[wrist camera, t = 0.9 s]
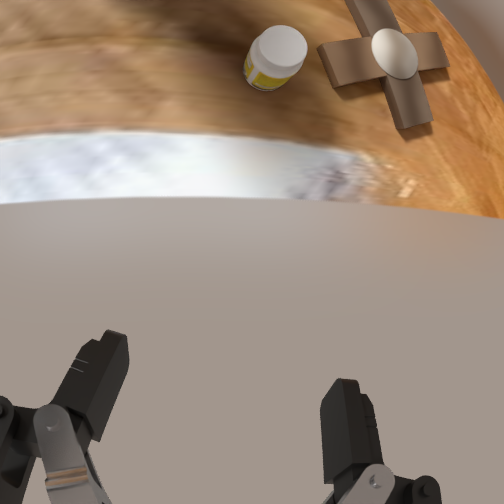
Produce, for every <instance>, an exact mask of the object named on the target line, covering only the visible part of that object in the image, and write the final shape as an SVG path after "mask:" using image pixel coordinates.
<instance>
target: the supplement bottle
mask: <svg viewBox="0 0 504 504" xmlns="http://www.w3.org/2000/svg"><path fill="white" fill-rule="evenodd" d="M306 54H307V43H306V40H305V38H304V37H303V35H302V34H301V33H300V32H298V31H297V30H296V29H294V28H292V27H289V26H284V25H277V26H272V27H270V28H268V29H267V30H265V31H264V32H263V33H262V34H261V35H260V36H258V37H257V38H256V39H255V40H254V41H253V43H252V45H251V47H250V50H249V52H248V55H247V57H246V59H245V62H244V65H243V74H244V77H245V79H246V80H247V82H248V83H249V84H250V85H251V86H253V87H254V88H256V89H258V90H262V91H272V90H275V89H278V88H279V87H281V86H282V85H283V84H284V83H286V82H287V81H288V80H289V79H290V78H291V77H292V76H293V75H294V74H296V73H297V72H298V71H299V69H300V68H301V66H302V64H303V60H304V58H305V57H306Z"/></svg>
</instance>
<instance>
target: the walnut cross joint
mask: <svg viewBox="0 0 504 504" xmlns="http://www.w3.org/2000/svg"><path fill="white" fill-rule="evenodd" d="M345 2H346V4H347V6H348V8H349V10H350V12H351V14H352V16H353V18H354V20H355V22H356V24H357V27H358V29H359V31H360V33H361V35H362V38H355V39H348V40H342V41H336V42H330V43H324V44H321V45H320V46H319V47H318V48H317V51H318V53H319V56H320V58H321V60H322V63H323V65H324V67H325V70H326V72H327V75H328V77H329V80H330V82H331V85H332V87H333V88H337V87H341V86H345V85H349V84H354V83H358V82H363V81H367V80H372V79H377V78H379V79H380V82H381V85H382V87H383V90H384V93H385V96H386V99H387V102H388V105H389V108H390V111H391V114H392V117H393V120H394V123H395V127H396V129H405V128H408V127H412V126H415V125H419V124H423V123H426V122H430V121H434V120H433V117H432V113H431V110H430V106H429V103H428V100H427V97H426V94H425V91H424V87H423V85H422V82H421V79H420V76H419V73H418V71H425V70H433V69H441V68H446V67H450V64H449V61H448V59H447V56H446V53H445V51H444V48H443V46H442V43H441V41H440V38H439V36H438V34H437V32H428V33H405V34H403V33H402V31H401V29H400V26H399V24H398V22H397V20H396V18H395V16H394V14H393V12H392V10H391V8H390V6H389V4H388V2H387V0H345Z"/></svg>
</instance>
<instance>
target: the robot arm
mask: <svg viewBox="0 0 504 504" xmlns="http://www.w3.org/2000/svg"><path fill="white" fill-rule="evenodd" d="M128 367H129V352H128V343H127V336H126V335H125V334H121V333H118V332H115V331H111V330H106V331H105V333H104V334H103V336H102V338H101V340H100V341H97V340H94V339H91V340H90V341H89V342H87V343H86V344H85V345H84V346H82V347H81V349H80V351H79V353H78V354H77V356H76V359H75V360H74V362H73V363H72V365H71V368H69V371H68V372H67V374H66V376H65V378H64V379H63V381H62V383H61V385H60V387H59V389H58V391H57V393H56V395H55V396H54V398H53V400H52V401H51V402H50V403H49V404H47V405H44V406H42V407H40V408H37V409H32V408H25V407H18V406H13V405H12V403H11V402H10V401H9V400H8V399H7V398H5V397H3V396H0V504H22V501H23V497H24V494H25V491H26V487H27V484H28V481H29V478H30V475H31V472H32V469H33V466H34V462H35V460H36V457H39V458H42V461H43V464H44V468H45V471H46V476H47V478H46V480H45V485H46V489H47V493H48V496H49V498H50V501H51V504H112V503H111V501H110V499H109V497H108V496H107V494H106V492H105V490H104V488H103V486H102V483H101V481H100V479H99V476H98V474H97V471H96V469H95V466H94V464H93V461H92V458H91V456H90V453H89V450H88V447H89V444H90V441H91V439H92V440H95V441H98V442H100V440H101V437H102V434H103V432H104V429H105V427H106V424H107V421H108V419H109V416H110V413H111V411H112V409H113V406H114V404H115V401H116V399H117V396H118V394H119V391H120V389H121V386H122V384H123V381H124V379H125V376H126V374H127V372H128ZM320 418H321V432H322V449H323V468H324V484H334V490H333V491H332V492H331V493H330V495H329V496H328V497H327V498H326V500H325V501H324V502H323V503H322V504H442V501H441V493H440V487H439V484H438V482H437V481H436V480H435V479H434V478H433V477H431V476H421V477H419V478H418V479H416V480H411V479H407V478H402V477H399V476H395V475H393V472H391V470H390V469H389V468H388V467H387V466H385V465H384V462H383V459H382V452H381V446H380V440H379V435H378V429H377V428H376V427H377V423H376V419H375V414H374V409H373V405H372V403H371V401H370V399H369V398H368V396H367V395H366V394H361V393H360V388H359V384H358V381H357V380H350V379H341V378H338V379H337V380H336V381H335V382H334V384H333V385H332V387H331V388H330V390H329V391H328V393H327V394H326V395H325V397H324V398H323V400H322V403H321V407H320Z"/></svg>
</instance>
